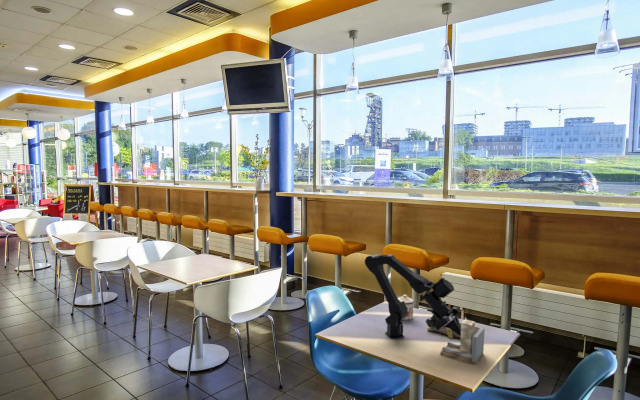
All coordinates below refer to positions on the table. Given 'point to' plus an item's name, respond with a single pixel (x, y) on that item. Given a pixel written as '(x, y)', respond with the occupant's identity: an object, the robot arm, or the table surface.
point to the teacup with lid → (407, 305)
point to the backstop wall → (478, 344)
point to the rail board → (457, 353)
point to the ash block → (467, 336)
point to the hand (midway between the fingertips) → (461, 335)
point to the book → (450, 331)
